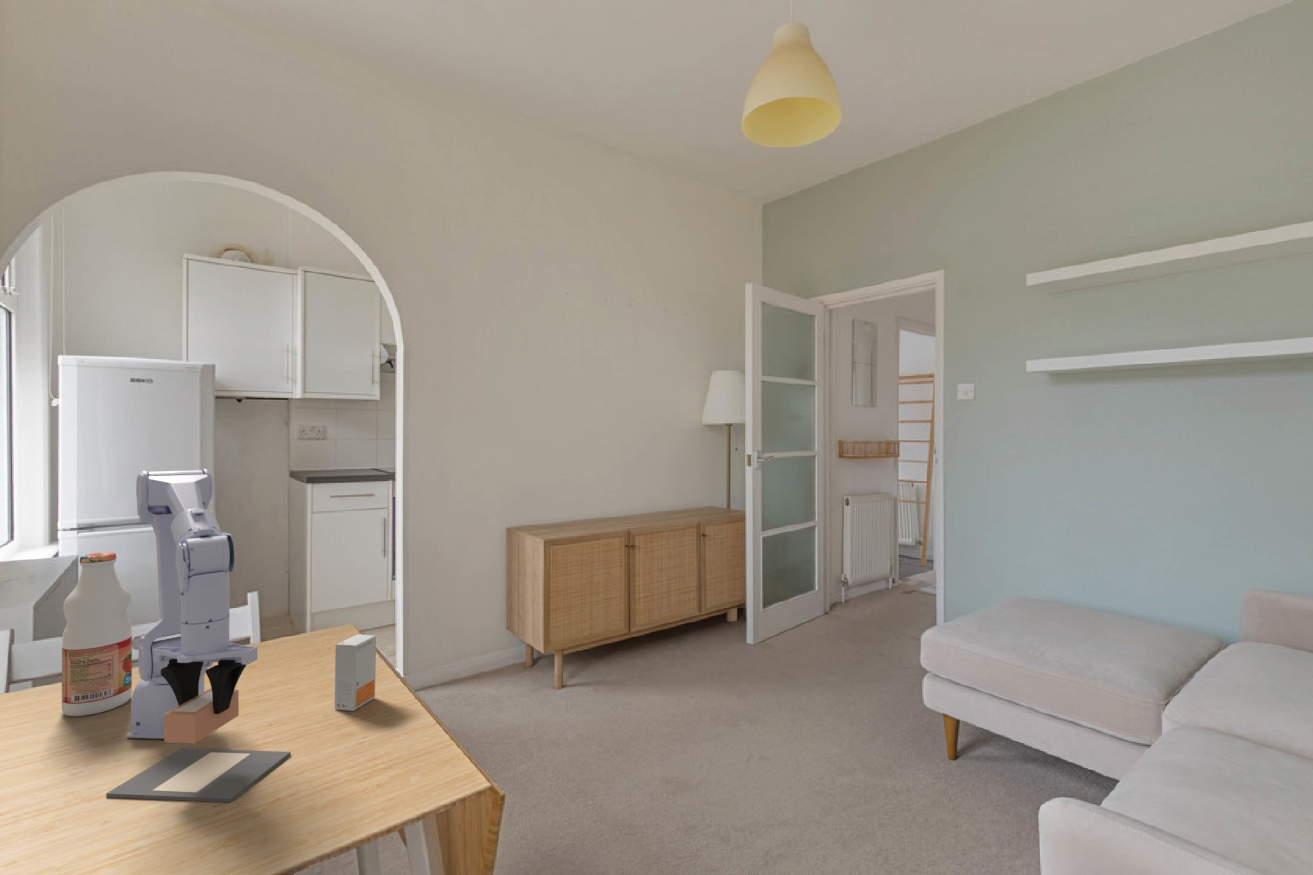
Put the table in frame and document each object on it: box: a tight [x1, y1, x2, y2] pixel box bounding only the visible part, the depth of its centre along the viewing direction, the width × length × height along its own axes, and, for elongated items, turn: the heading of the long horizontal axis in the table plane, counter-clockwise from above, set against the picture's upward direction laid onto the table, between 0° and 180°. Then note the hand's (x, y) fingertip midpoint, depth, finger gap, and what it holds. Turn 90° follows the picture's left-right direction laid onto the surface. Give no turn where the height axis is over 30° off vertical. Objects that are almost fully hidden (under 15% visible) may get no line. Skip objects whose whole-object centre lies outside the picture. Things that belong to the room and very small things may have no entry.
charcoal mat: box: [105, 747, 292, 803], centre depth 87 cm, size 18×12×1 cm, turn 87°
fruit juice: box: [61, 551, 133, 717], centre depth 109 cm, size 9×9×28 cm
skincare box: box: [334, 633, 377, 712], centre depth 110 cm, size 6×4×12 cm
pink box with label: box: [163, 688, 240, 744], centre depth 87 cm, size 8×4×4 cm, turn 177°
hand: (205, 710), depth 87 cm, fingers closed on pink box with label, 4 cm apart
